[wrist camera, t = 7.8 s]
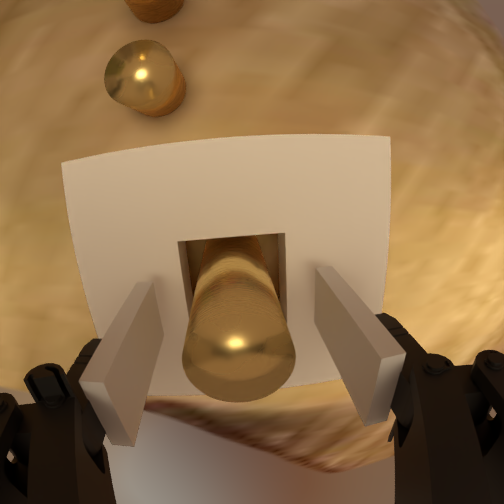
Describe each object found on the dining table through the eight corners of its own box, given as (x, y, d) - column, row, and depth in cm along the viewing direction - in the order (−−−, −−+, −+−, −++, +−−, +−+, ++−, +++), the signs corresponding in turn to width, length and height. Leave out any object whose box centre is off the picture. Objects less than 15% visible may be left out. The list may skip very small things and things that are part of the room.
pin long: (208, 276, 21) (192, 404, 10) (202, 225, 20) (172, 318, 9) (260, 272, 21) (294, 396, 10) (257, 220, 20) (296, 308, 9)
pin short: (133, 120, 18) (105, 111, 13) (131, 70, 16) (104, 48, 12) (187, 112, 18) (174, 99, 13) (185, 61, 17) (172, 34, 12)
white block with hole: (139, 343, 22) (119, 394, 17) (104, 158, 18) (61, 162, 12) (342, 326, 23) (371, 372, 18) (346, 139, 19) (390, 136, 13)
